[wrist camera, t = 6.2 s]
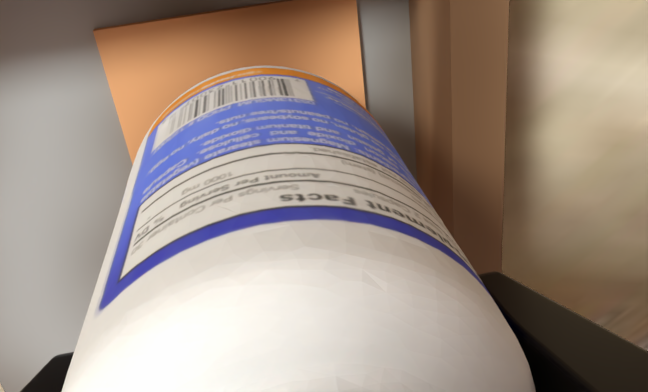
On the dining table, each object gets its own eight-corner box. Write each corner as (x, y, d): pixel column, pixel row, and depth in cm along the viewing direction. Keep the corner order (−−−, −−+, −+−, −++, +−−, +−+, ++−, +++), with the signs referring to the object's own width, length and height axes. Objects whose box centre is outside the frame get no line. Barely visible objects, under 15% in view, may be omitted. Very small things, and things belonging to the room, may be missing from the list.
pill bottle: (323, 318, 15) (465, 927, 6) (94, 249, 13) (-139, 966, 4) (438, 120, 13) (871, 610, 4) (188, 7, 11) (92, 461, 3)
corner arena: (440, -145, 14) (513, -149, 11) (450, 320, 21) (497, 410, 18) (-194, -60, 13) (-339, -33, 10) (31, 404, 20) (-7, 517, 17)
